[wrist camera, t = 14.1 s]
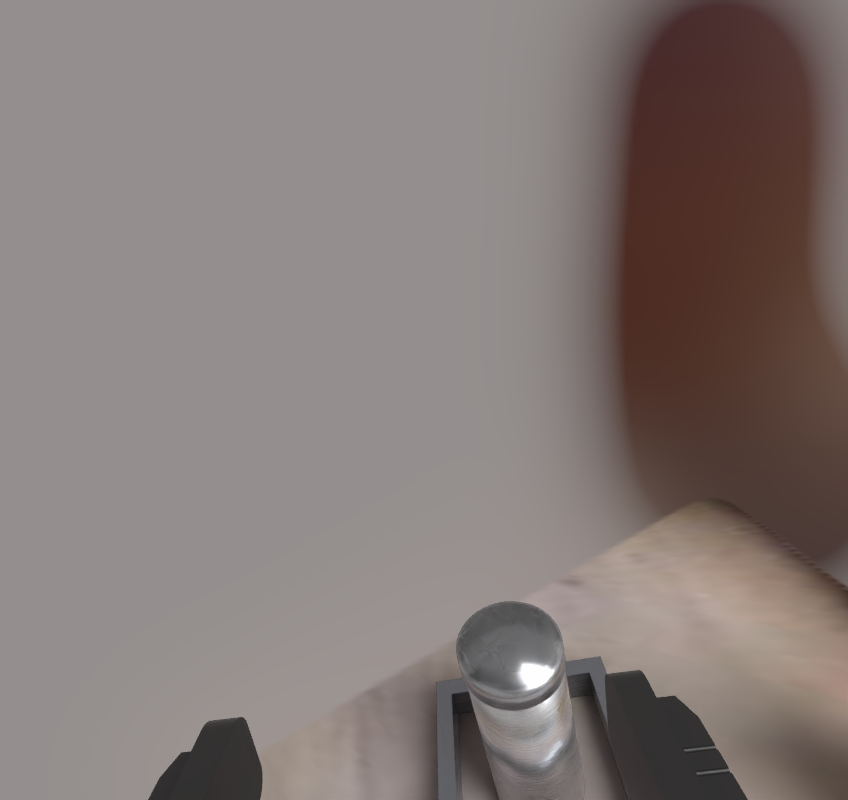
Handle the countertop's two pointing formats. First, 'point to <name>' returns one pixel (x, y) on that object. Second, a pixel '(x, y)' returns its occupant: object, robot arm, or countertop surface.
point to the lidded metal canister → (522, 701)
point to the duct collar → (457, 700)
